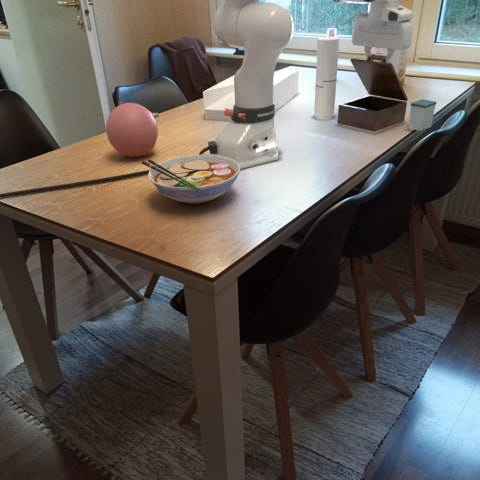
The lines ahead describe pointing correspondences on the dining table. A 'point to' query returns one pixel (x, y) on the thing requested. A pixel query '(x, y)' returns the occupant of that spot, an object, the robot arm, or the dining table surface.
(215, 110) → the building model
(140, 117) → the balloon
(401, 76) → the cracker box
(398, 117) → the chest
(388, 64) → the lid
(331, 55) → the cylindrical container
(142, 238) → the dining table surface
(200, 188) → the ramen bowl
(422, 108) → the white teal-lidded container
